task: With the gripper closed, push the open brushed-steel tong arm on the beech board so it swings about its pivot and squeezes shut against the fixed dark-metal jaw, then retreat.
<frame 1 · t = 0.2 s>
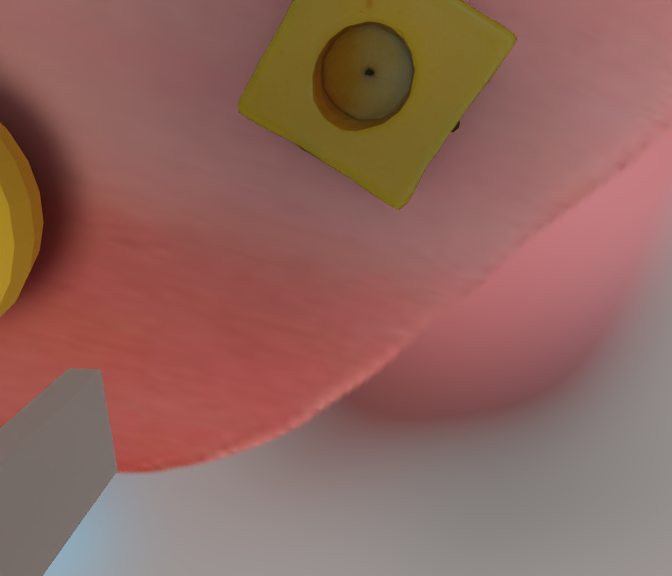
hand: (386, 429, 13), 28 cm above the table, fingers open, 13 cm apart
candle: (377, 78, 37), on the table
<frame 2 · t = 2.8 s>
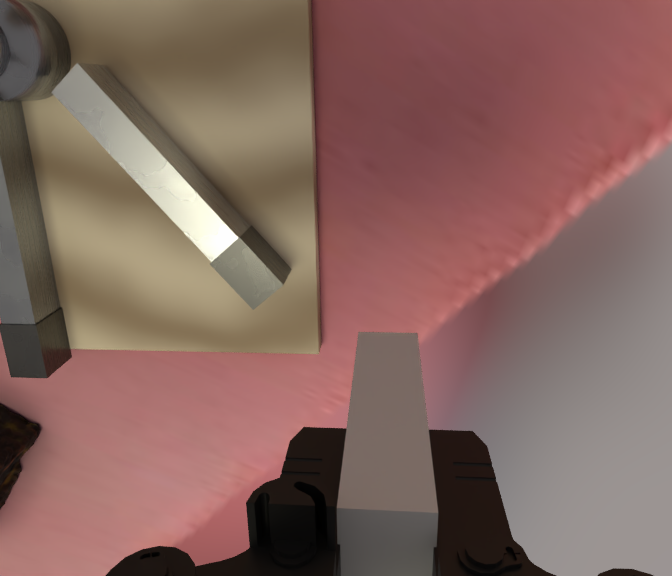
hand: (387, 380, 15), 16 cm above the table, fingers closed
tong arm: (122, 169, 26), point 4 cm above the table, hinge at 40.0°
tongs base: (25, 51, 27), resting on board
board: (153, 175, 30), on the table
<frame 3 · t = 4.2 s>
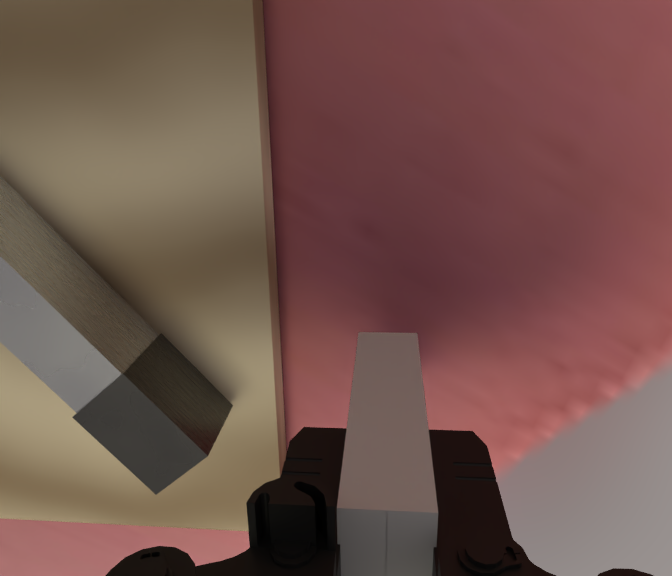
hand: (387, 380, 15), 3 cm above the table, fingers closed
board: (1, 241, 17), on the table
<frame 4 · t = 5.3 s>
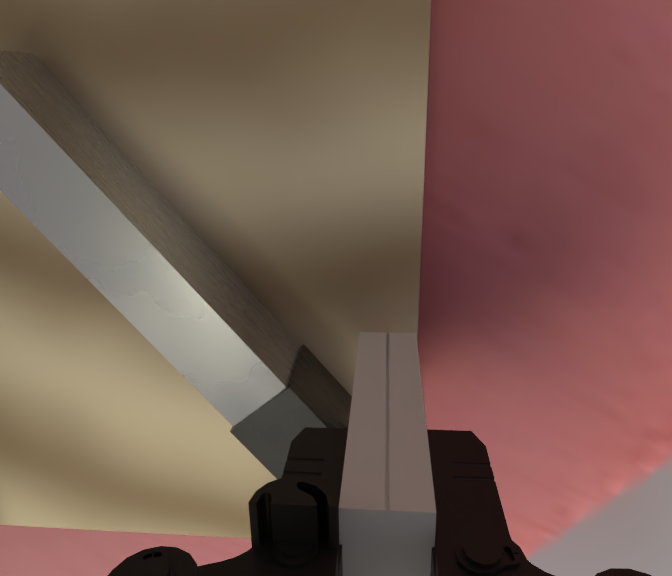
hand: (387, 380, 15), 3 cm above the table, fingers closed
tong arm: (64, 255, 13), point 4 cm above the table, hinge at 39.9°, touching gripper
board: (131, 247, 17), on the table
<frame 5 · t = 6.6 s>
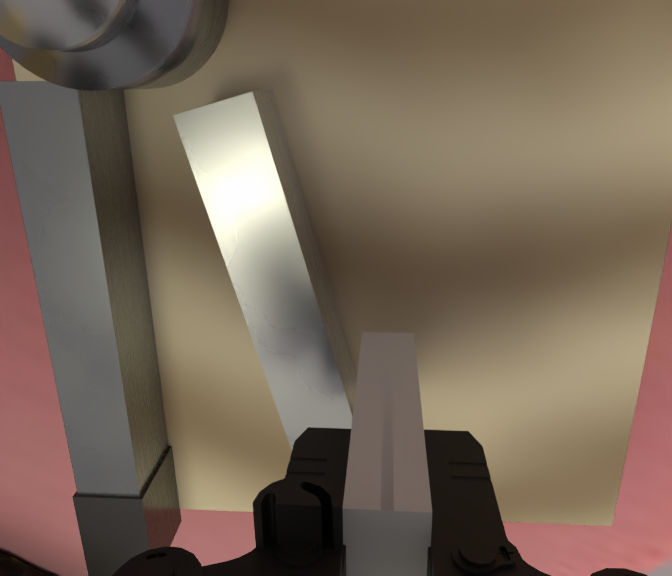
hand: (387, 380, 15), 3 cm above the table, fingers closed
tong arm: (233, 294, 14), point 4 cm above the table, hinge at 15.0°, touching gripper
board: (347, 224, 17), on the table
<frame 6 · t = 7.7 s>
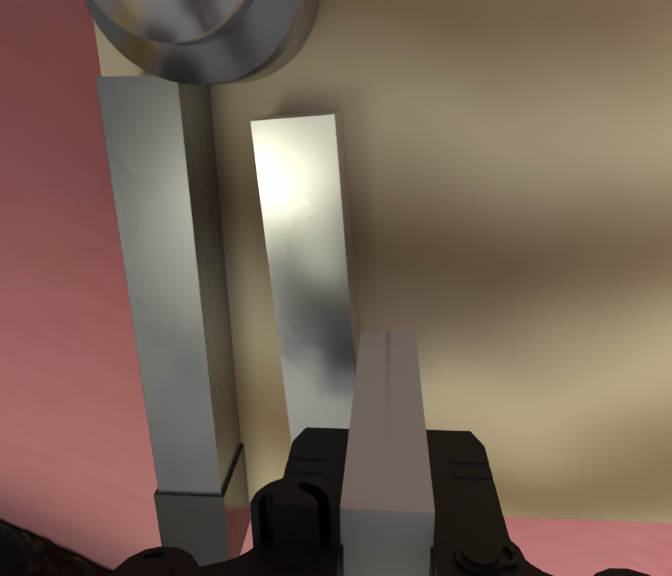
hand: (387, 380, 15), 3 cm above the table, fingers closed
tong arm: (269, 303, 14), point 4 cm above the table, hinge at 3.7°, touching gripper
board: (426, 219, 16), on the table
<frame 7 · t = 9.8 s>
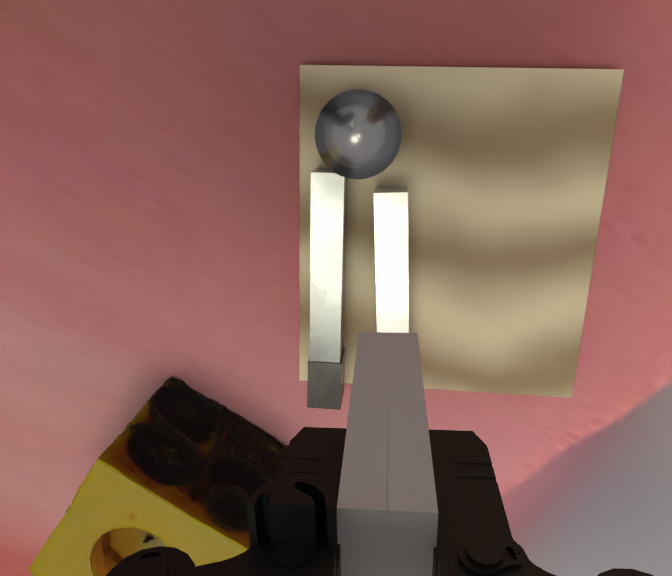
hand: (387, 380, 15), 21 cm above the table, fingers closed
tong arm: (372, 269, 32), point 4 cm above the table, hinge at 3.6°
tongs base: (361, 132, 32), resting on board
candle: (200, 458, 41), on the table
board: (442, 237, 34), on the table
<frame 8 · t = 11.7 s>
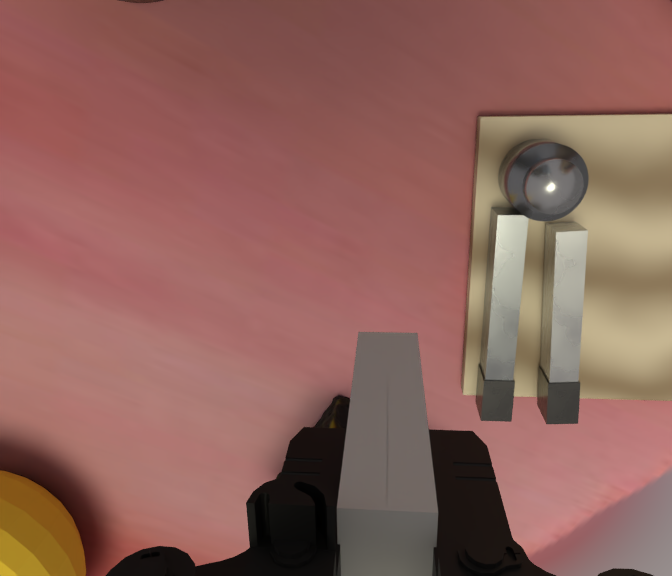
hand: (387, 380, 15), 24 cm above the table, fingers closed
tong arm: (549, 298, 35), point 4 cm above the table, hinge at 3.6°
vase: (18, 520, 50), on the table
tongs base: (534, 175, 35), resting on board
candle: (359, 465, 45), on the table
board: (598, 263, 38), on the table
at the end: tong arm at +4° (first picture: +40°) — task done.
